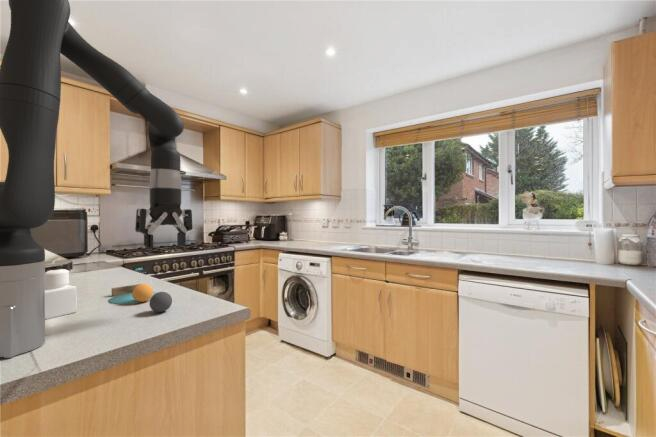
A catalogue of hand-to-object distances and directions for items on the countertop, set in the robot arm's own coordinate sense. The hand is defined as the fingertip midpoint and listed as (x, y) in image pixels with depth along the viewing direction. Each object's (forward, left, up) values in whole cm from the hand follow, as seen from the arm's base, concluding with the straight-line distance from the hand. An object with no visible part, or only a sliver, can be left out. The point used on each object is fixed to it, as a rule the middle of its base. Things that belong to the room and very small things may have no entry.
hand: (165, 247), depth 82 cm
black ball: (+2, +2, -15) cm, 16 cm away
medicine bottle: (+4, +29, -18) cm, 34 cm away
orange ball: (+13, +11, -15) cm, 23 cm away
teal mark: (+18, +15, -18) cm, 30 cm away
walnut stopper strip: (+24, +20, -18) cm, 36 cm away
